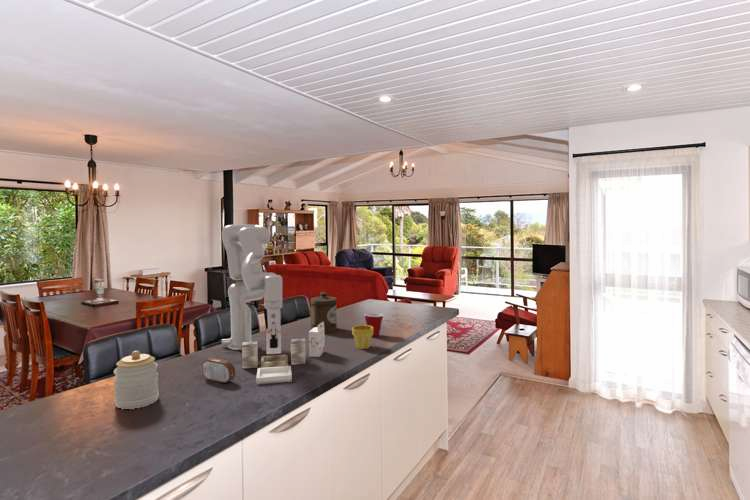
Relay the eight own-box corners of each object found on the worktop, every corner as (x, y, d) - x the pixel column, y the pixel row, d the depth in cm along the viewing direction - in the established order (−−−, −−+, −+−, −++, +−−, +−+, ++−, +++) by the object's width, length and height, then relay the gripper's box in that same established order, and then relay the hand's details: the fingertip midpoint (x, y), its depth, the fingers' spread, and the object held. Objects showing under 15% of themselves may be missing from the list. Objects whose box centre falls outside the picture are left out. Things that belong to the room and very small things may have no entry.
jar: (127, 414, 131) (125, 359, 130) (107, 404, 138) (105, 352, 137) (167, 399, 142) (165, 348, 141) (146, 391, 149) (144, 343, 148)
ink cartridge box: (314, 351, 197) (314, 320, 196) (324, 351, 196) (324, 321, 195) (308, 356, 188) (308, 324, 187) (318, 357, 187) (318, 325, 186)
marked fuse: (266, 354, 175) (266, 330, 175) (266, 351, 179) (266, 328, 178) (281, 353, 177) (280, 330, 176) (280, 350, 181) (280, 327, 180)
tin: (236, 382, 158) (235, 360, 157) (230, 385, 155) (229, 363, 154) (207, 376, 164) (206, 355, 164) (200, 379, 161) (200, 358, 161)
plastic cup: (387, 334, 226) (387, 313, 225) (377, 339, 216) (377, 316, 216) (370, 332, 231) (370, 310, 231) (359, 336, 222) (359, 314, 222)
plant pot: (364, 351, 196) (364, 331, 195) (347, 347, 202) (347, 327, 202) (377, 346, 204) (377, 326, 204) (361, 342, 210) (361, 323, 210)
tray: (256, 384, 156) (256, 378, 155) (257, 374, 166) (257, 368, 166) (291, 381, 159) (291, 375, 158) (290, 371, 169) (290, 365, 169)
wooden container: (335, 333, 229) (334, 293, 228) (308, 333, 229) (308, 293, 228) (337, 326, 244) (337, 289, 243) (312, 326, 244) (312, 289, 243)
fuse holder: (242, 370, 171) (241, 346, 170) (243, 363, 179) (243, 340, 179) (305, 365, 177) (305, 342, 176) (304, 358, 185) (304, 336, 185)
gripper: (282, 307, 169) (283, 351, 171) (282, 299, 185) (282, 340, 187) (263, 308, 167) (264, 352, 169) (264, 300, 184) (265, 341, 185)
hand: (273, 345), depth 178 cm, fingers closed on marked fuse, 4 cm apart
